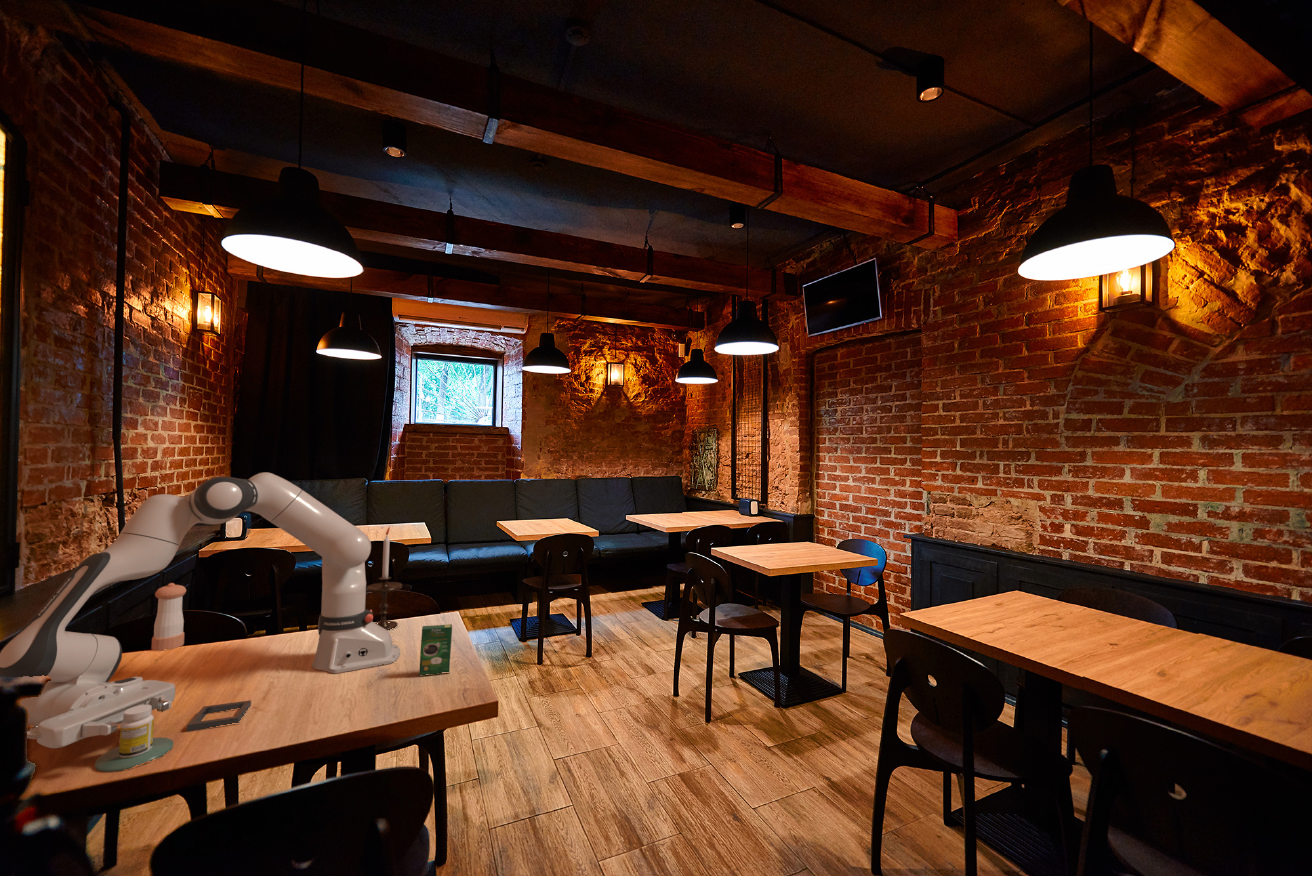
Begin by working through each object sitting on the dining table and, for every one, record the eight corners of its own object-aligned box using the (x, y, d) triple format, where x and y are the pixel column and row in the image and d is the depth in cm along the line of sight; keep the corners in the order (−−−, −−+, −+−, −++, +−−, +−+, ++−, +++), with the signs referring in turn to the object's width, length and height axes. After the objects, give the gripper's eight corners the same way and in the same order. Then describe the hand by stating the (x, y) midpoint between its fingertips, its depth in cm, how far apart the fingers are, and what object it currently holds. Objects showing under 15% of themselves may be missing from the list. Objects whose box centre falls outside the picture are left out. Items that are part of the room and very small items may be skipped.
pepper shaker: (165, 651, 157) (168, 586, 157) (144, 649, 158) (148, 585, 158) (190, 643, 164) (193, 581, 164) (170, 641, 165) (174, 579, 166)
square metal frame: (250, 706, 125) (251, 700, 125) (238, 724, 117) (238, 717, 117) (203, 712, 122) (203, 706, 122) (186, 731, 113) (187, 725, 113)
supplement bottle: (133, 745, 107) (136, 703, 107) (158, 745, 107) (161, 703, 107) (111, 759, 102) (114, 715, 102) (137, 758, 102) (140, 714, 103)
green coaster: (182, 736, 112) (182, 733, 112) (158, 764, 101) (158, 761, 101) (114, 746, 107) (114, 743, 107) (81, 777, 97) (81, 773, 97)
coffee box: (450, 669, 149) (452, 622, 149) (450, 673, 146) (452, 626, 147) (419, 673, 146) (421, 625, 147) (418, 677, 143) (420, 628, 144)
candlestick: (398, 620, 190) (402, 523, 191) (402, 629, 181) (406, 527, 182) (364, 625, 184) (368, 525, 186) (366, 634, 175) (370, 529, 176)
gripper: (18, 717, 97) (75, 727, 94) (146, 673, 117) (195, 680, 114) (16, 752, 97) (72, 763, 94) (144, 701, 117) (194, 709, 114)
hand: (141, 717), depth 104 cm, fingers open, 8 cm apart
